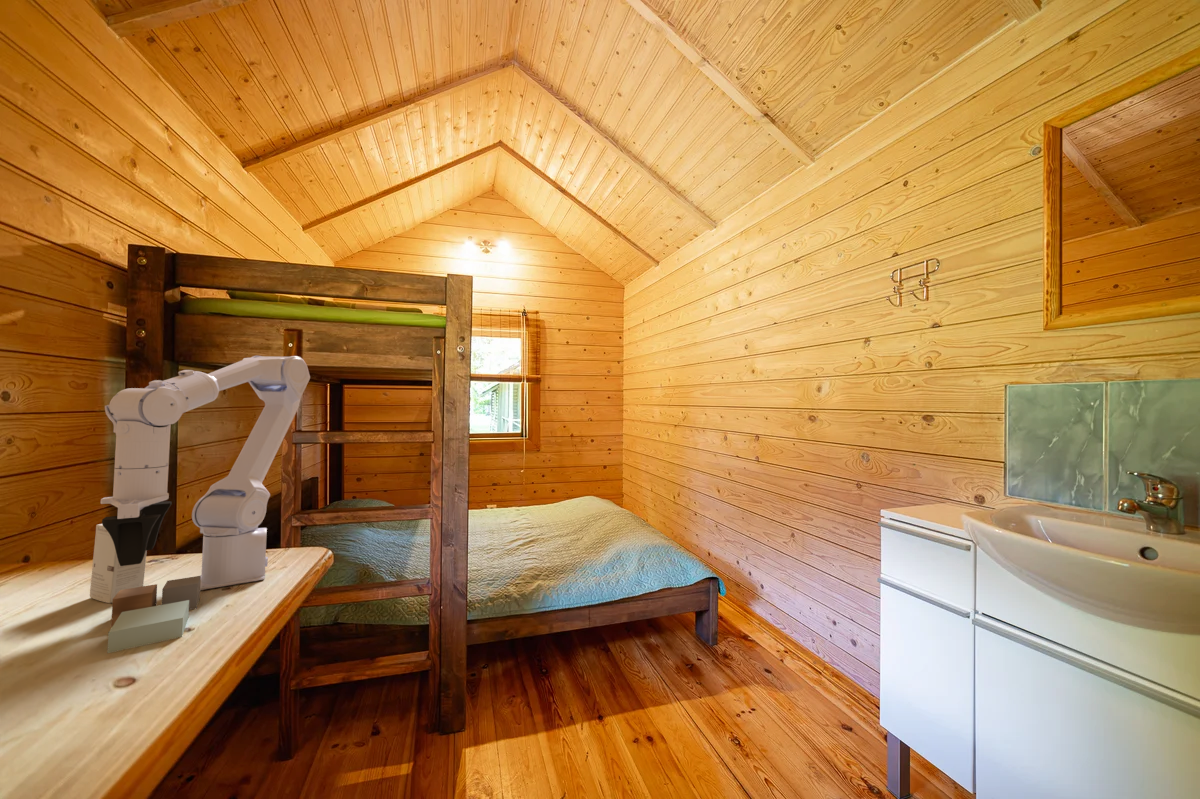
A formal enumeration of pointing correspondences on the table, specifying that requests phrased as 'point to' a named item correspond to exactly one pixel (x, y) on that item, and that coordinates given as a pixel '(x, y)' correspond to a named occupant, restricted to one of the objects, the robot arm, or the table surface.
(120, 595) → the walnut cube
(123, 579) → the skincare box
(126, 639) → the base block
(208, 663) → the table surface
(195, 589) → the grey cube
